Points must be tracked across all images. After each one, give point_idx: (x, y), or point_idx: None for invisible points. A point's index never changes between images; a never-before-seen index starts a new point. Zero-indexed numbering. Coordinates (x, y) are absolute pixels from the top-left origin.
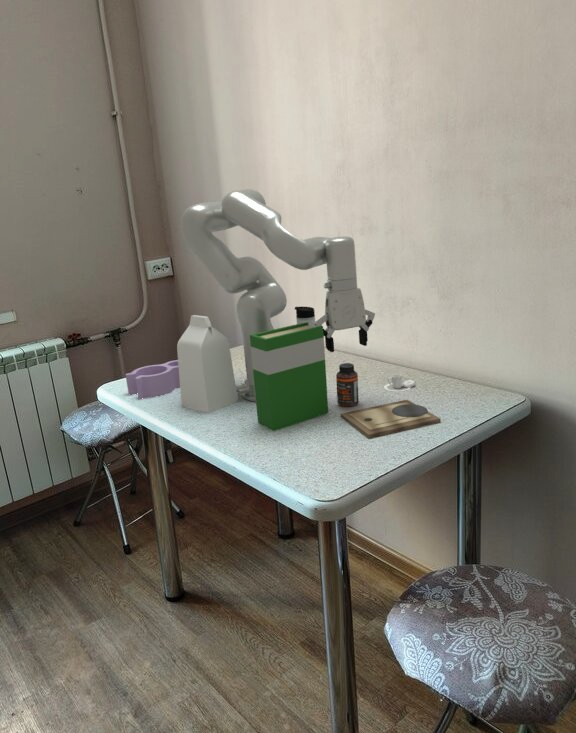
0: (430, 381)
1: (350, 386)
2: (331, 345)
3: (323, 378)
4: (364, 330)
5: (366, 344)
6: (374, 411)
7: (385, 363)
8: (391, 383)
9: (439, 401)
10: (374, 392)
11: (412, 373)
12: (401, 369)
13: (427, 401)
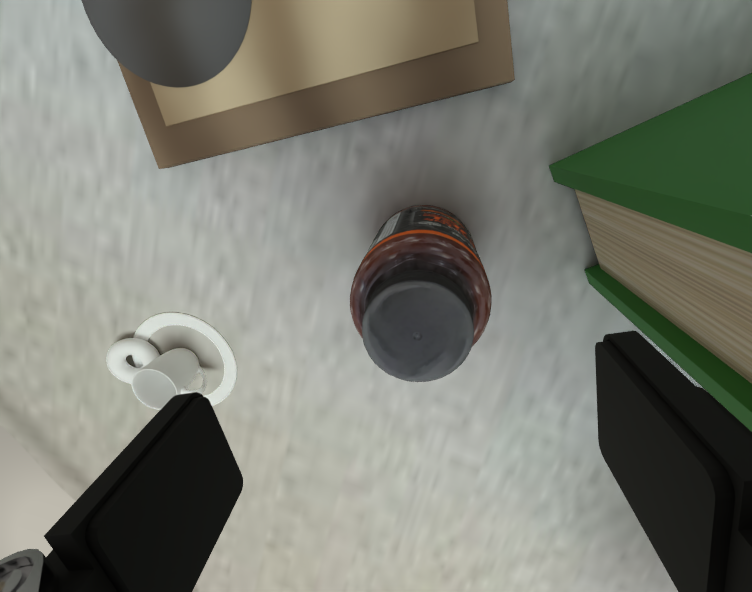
0: (58, 372)
1: (417, 223)
2: (685, 380)
3: (664, 175)
4: (63, 580)
5: (175, 398)
6: (338, 37)
7: None
8: None
9: (33, 138)
10: (282, 341)
11: None
12: None
13: (83, 157)
